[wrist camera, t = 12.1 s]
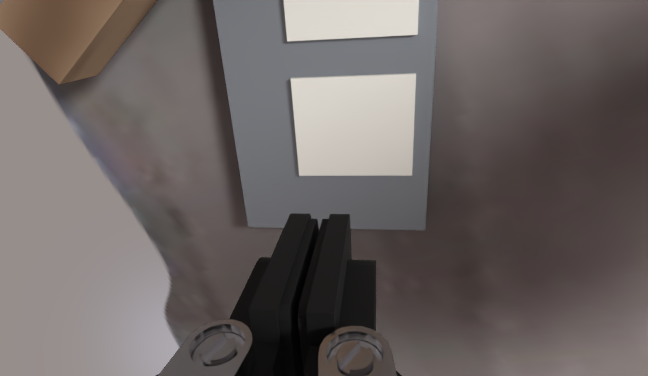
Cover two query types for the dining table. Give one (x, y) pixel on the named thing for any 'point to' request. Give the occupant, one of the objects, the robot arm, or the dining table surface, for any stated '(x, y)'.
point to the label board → (331, 107)
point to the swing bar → (71, 32)
